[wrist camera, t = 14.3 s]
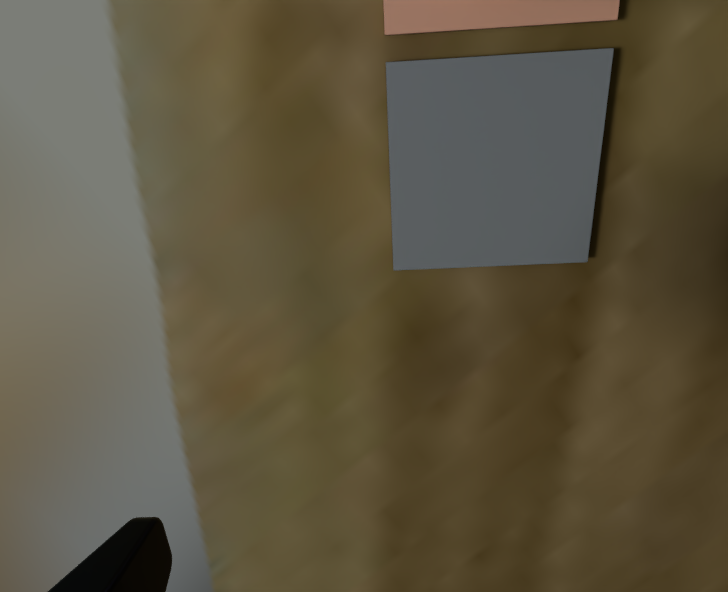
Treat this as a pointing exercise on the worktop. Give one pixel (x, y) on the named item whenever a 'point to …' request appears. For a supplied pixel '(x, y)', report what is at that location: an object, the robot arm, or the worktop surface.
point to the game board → (494, 139)
